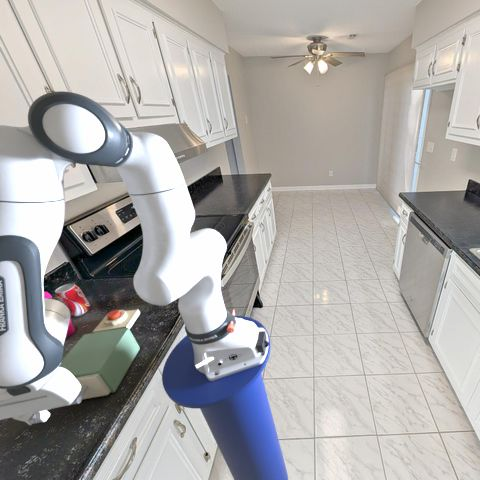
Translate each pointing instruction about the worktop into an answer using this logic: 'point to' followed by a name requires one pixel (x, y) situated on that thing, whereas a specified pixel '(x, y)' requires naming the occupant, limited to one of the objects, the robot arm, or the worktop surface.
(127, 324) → the control block
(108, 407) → the worktop surface
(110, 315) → the button
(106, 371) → the cabinet
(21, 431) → the worktop surface
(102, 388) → the drawer
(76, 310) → the soda can
